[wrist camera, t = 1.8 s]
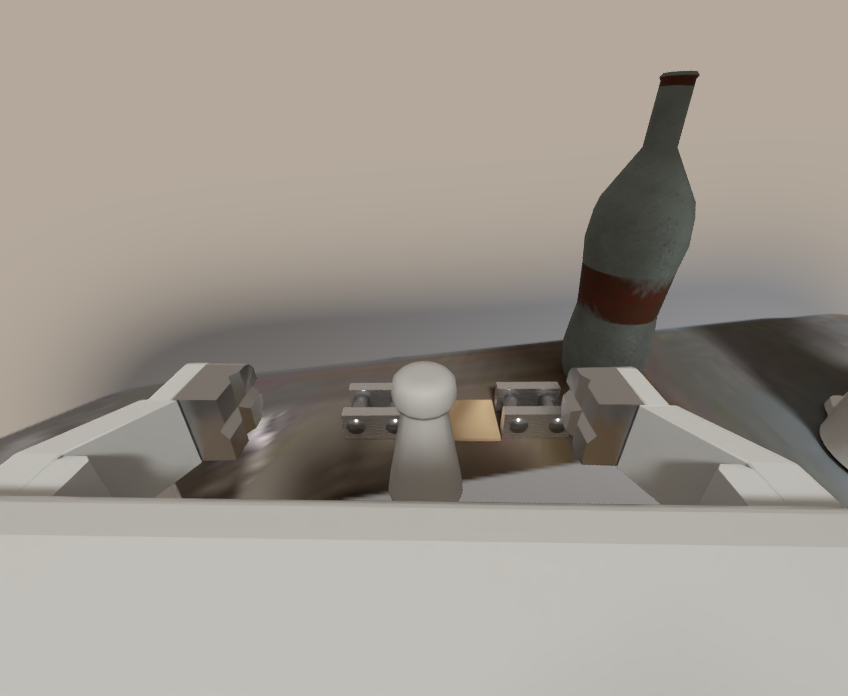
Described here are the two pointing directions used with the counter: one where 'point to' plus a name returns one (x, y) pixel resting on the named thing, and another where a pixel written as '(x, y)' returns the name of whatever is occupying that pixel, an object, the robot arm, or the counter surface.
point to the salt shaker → (424, 435)
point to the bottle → (635, 243)
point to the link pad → (474, 421)
